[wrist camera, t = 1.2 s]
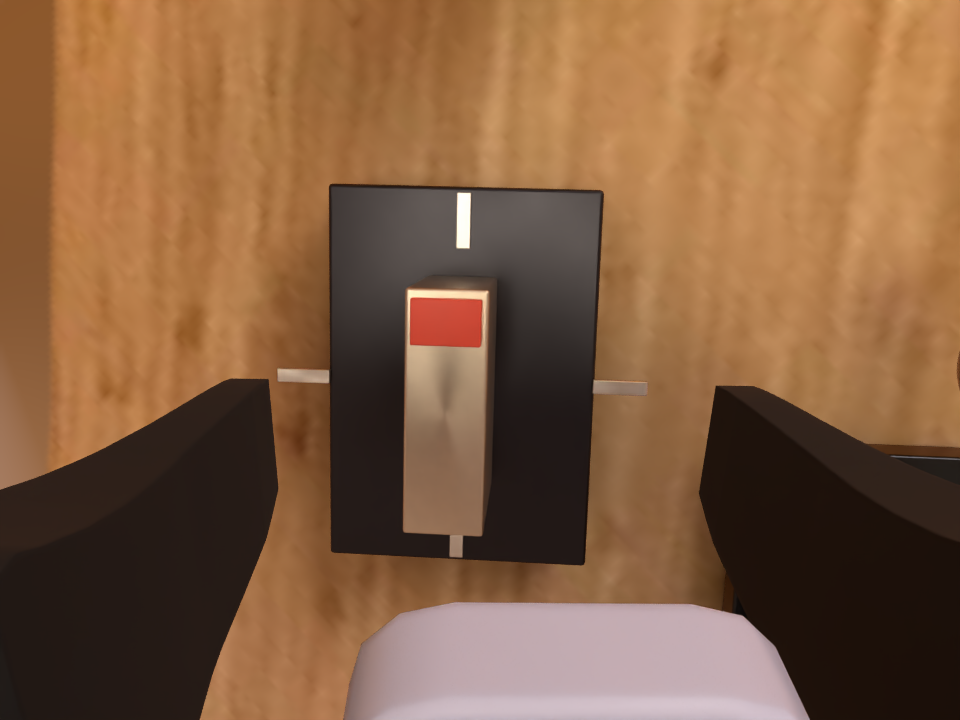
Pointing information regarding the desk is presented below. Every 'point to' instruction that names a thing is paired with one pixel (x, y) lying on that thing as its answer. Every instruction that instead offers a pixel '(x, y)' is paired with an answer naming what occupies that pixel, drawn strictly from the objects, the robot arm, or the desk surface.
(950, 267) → the desk surface
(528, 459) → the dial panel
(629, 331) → the desk surface
